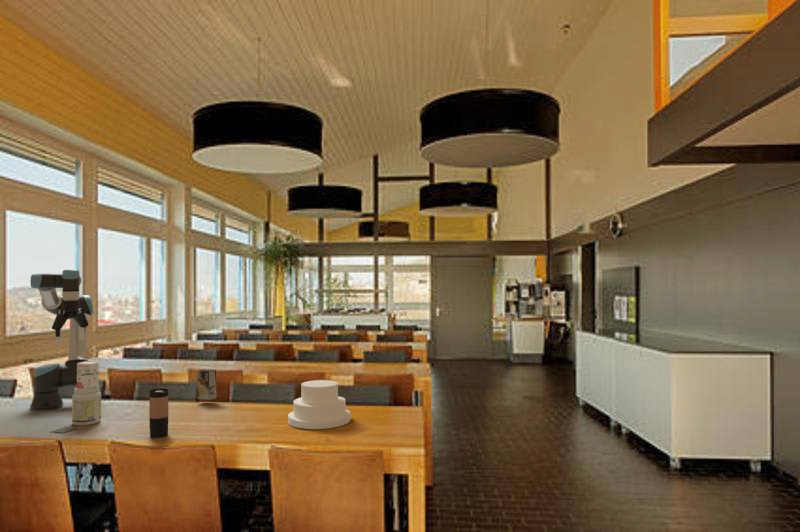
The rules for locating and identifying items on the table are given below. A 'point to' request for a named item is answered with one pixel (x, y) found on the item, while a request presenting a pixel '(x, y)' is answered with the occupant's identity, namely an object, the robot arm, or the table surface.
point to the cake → (319, 406)
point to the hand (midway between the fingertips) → (70, 341)
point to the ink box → (87, 374)
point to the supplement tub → (86, 406)
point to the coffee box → (206, 384)
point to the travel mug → (158, 413)
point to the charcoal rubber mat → (64, 430)
